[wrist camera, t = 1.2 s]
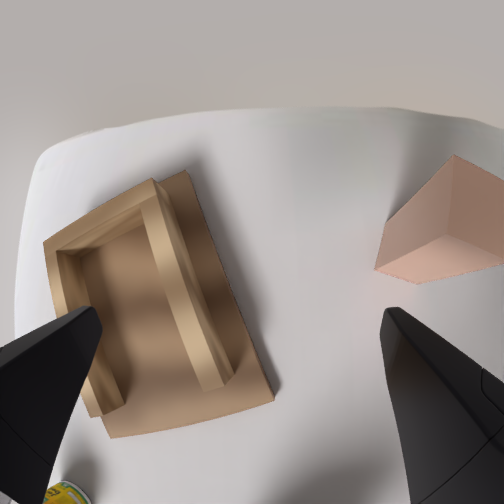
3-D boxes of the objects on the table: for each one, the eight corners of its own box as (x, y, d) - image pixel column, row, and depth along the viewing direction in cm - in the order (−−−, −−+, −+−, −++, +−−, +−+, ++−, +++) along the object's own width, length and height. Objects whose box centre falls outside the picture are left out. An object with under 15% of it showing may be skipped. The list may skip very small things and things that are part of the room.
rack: (274, 397, 21) (270, 416, 17) (115, 435, 22) (89, 451, 18) (189, 174, 25) (170, 150, 21) (58, 245, 26) (28, 236, 22)
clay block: (417, 284, 21) (509, 261, 10) (374, 270, 22) (446, 233, 10) (426, 238, 22) (512, 186, 10) (385, 223, 22) (453, 154, 11)
